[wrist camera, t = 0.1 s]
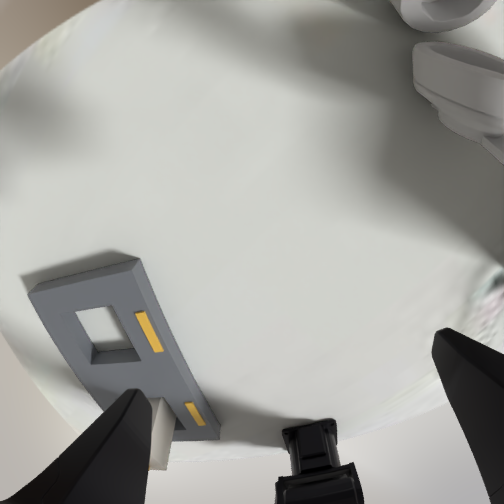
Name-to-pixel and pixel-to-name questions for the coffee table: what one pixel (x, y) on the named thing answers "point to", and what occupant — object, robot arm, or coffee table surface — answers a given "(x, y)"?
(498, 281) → the coffee table surface
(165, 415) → the plug
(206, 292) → the coffee table surface
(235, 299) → the coffee table surface
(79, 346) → the panel
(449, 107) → the headphones
